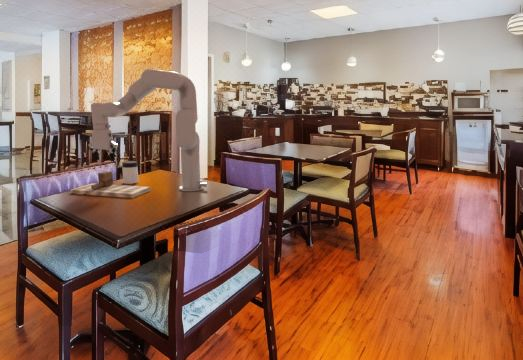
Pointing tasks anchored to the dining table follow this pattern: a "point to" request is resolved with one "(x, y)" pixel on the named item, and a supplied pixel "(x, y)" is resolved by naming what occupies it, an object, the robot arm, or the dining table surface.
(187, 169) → the robot arm
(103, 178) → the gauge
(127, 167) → the jar
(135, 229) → the dining table surface
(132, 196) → the board
